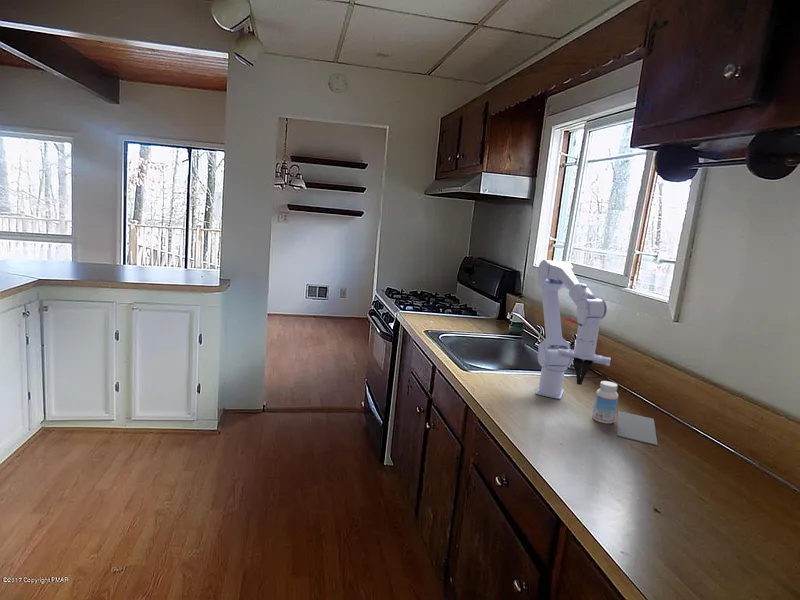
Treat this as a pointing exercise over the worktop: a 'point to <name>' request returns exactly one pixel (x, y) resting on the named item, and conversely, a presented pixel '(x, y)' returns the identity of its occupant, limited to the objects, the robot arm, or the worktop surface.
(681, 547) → the worktop surface
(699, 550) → the worktop surface
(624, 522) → the worktop surface
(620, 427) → the mat
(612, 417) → the pill bottle
